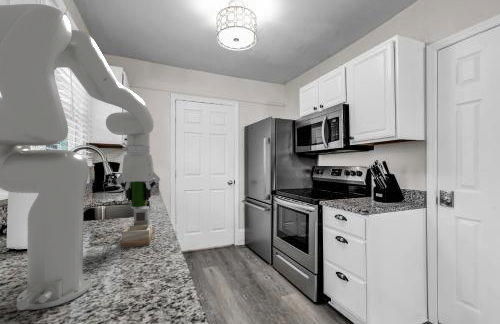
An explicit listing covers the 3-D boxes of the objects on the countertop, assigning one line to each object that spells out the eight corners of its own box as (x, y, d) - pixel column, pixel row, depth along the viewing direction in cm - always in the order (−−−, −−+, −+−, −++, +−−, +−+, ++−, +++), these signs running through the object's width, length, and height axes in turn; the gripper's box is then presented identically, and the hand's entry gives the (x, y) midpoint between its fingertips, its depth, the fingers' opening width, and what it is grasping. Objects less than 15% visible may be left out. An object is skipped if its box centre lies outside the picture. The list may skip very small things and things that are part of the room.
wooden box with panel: (149, 245, 84) (149, 213, 84) (120, 247, 82) (121, 215, 82) (154, 232, 99) (154, 206, 99) (130, 234, 97) (130, 207, 97)
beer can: (131, 209, 84) (131, 175, 84) (129, 207, 89) (129, 174, 89) (147, 208, 87) (147, 175, 87) (145, 205, 92) (145, 174, 92)
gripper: (109, 150, 82) (109, 203, 82) (162, 150, 87) (162, 200, 87) (115, 150, 89) (115, 199, 89) (164, 151, 94) (164, 197, 94)
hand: (138, 199), depth 88 cm, fingers closed on beer can, 5 cm apart
